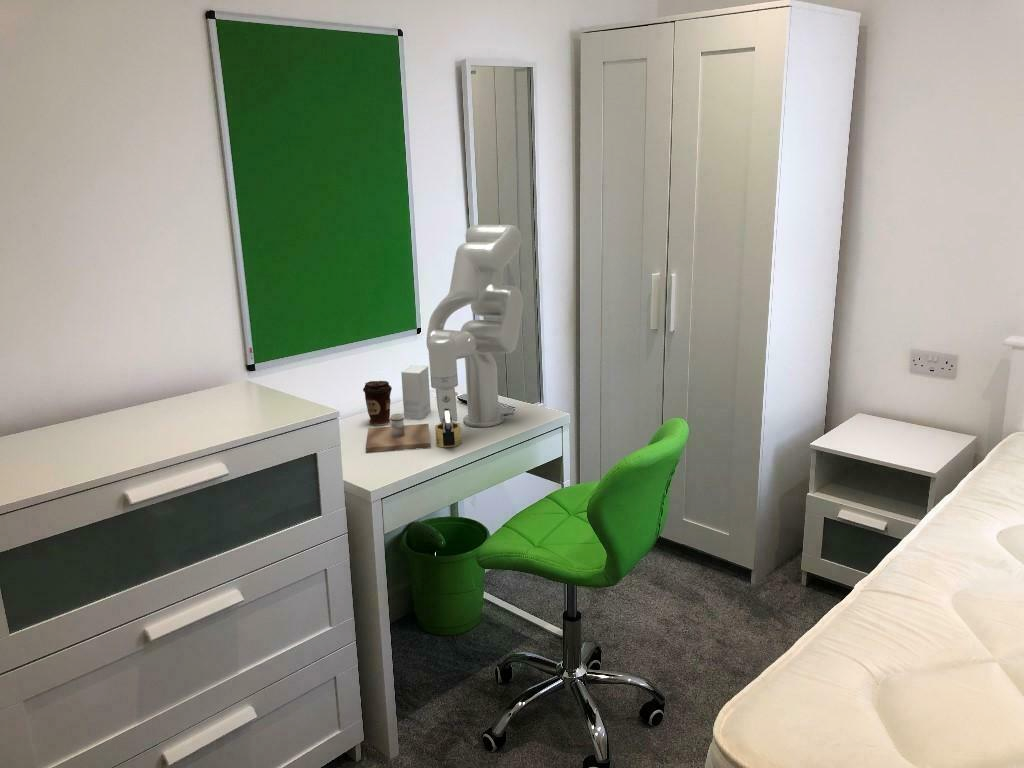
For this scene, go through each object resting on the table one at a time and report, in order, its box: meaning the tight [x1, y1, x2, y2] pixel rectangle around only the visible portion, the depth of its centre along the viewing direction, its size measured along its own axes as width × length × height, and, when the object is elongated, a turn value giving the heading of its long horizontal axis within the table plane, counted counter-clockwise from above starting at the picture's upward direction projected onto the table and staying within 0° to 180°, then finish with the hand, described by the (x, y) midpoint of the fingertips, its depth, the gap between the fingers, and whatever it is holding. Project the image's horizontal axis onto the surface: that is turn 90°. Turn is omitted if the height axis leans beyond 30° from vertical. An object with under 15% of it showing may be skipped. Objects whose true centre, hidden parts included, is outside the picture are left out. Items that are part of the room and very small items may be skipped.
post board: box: [365, 413, 431, 454], centre depth 241 cm, size 18×18×8 cm
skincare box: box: [400, 364, 432, 420], centre depth 263 cm, size 8×7×16 cm
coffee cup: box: [362, 380, 393, 426], centre depth 257 cm, size 9×8×13 cm
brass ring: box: [434, 421, 462, 448], centre depth 237 cm, size 7×7×5 cm
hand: (448, 440), depth 237 cm, fingers closed on brass ring, 7 cm apart
